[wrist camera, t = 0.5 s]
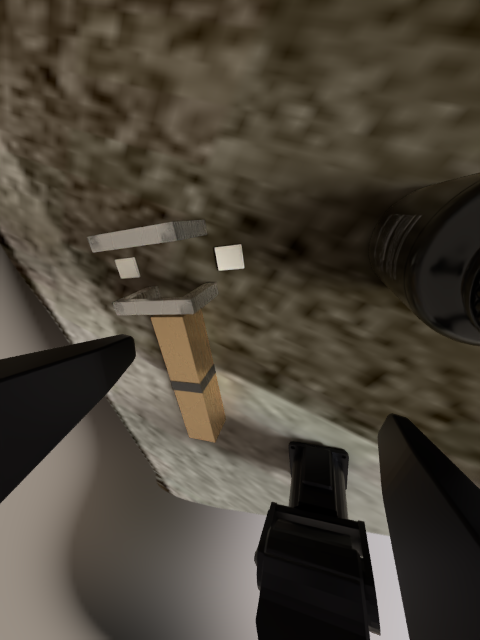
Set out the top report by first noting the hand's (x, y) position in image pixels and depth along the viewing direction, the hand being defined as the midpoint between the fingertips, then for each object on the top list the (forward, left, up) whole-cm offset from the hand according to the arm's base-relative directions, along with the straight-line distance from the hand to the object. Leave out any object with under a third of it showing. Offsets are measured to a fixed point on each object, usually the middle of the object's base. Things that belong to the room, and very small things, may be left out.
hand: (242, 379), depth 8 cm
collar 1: (+5, +11, -13) cm, 18 cm away
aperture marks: (+2, +11, -13) cm, 17 cm away
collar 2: (0, +11, -13) cm, 17 cm away
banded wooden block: (-10, +11, -13) cm, 20 cm away
